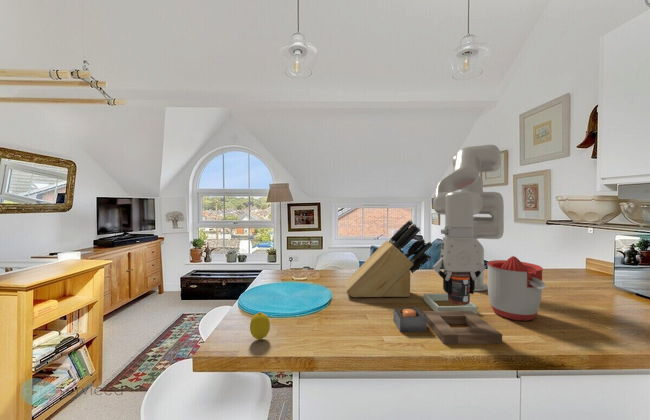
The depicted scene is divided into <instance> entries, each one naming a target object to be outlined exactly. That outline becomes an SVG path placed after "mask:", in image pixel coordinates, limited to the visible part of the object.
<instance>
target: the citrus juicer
mask: <svg viewBox="0 0 650 420" xmlns="http://www.w3.org/2000/svg"><path fill="white" fill-rule="evenodd" d="M486 265H487V286H488V289H487V294H488V299H489V302H490V306H491V308H492V310H493V312H494V313H495V314H497V315H498V316H501V317H504V318H506V319H510V320H513V321H531V320H534V319H535V318H536V316H537V313H539V308H540V307H541V301H542V293H543V290H545V289H546V288H547V284H546V283H545V282H544V281H543V270H544V268H543V267H542V266H541V265H537V264H534V263H530V262H524V261H521V260H520V259H519V258H517V257H516V256H515V255H512V256H510V257H509V258H507V260H503V259H502V260H501V259H500V260H499V259H498V260H497V259H495V260H489V261H487V262H486Z"/></svg>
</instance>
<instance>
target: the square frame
mask: <svg viewBox="0 0 650 420" xmlns="http://www.w3.org/2000/svg"><path fill="white" fill-rule="evenodd" d="M422 313H423V315H424V316H425V317H426V318H427V326H428V327H429V328H430V329H431V331H432V332H433V333H434V334H435V335H436V337H437V338H438V340H440V342H441V343H442V344H443V345H458V344H461V345H462V344H463V345H464V344H465V345H467V344H469V345H470V344H472V345H473V344H477V345H479V344H481V345H482V344H484V345H485V344H486V345H487V344H503V334H502V332H500V331H498V330H497V329H496V328H494V326H492V325H490V324H489V323H488V322H487V321H485V320H484V319H483V318H481V317H480V315H479V314H475V313H474V312H472V311H434V310H428V311H427V310H423V311H422ZM453 324H454V325H458V324H459V325H461V324H463V325H466V326H467V327H451V326H450V325H453Z"/></svg>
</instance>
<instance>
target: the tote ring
mask: <svg viewBox="0 0 650 420" xmlns="http://www.w3.org/2000/svg"><path fill="white" fill-rule="evenodd" d="M423 301H424V302H425V303H426V304H427V305H428V306H429V307H430V308H431V309H432V311H472V312H474V313H475V314H476V315H478V306H477V305H475V304H474V303H473V302H471V301H470V302H469V304H467V305H453V306H452V305H441V306H439V305H438V304H437V303H436V301H439V302H440V301H441V302H442V301H448V302H449V300H448V293H446V292H445V293H423Z"/></svg>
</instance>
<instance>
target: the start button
mask: <svg viewBox="0 0 650 420" xmlns="http://www.w3.org/2000/svg"><path fill="white" fill-rule="evenodd" d="M403 316H404V317H409V316H416V311H415V310H412V309H404V310H403Z"/></svg>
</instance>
